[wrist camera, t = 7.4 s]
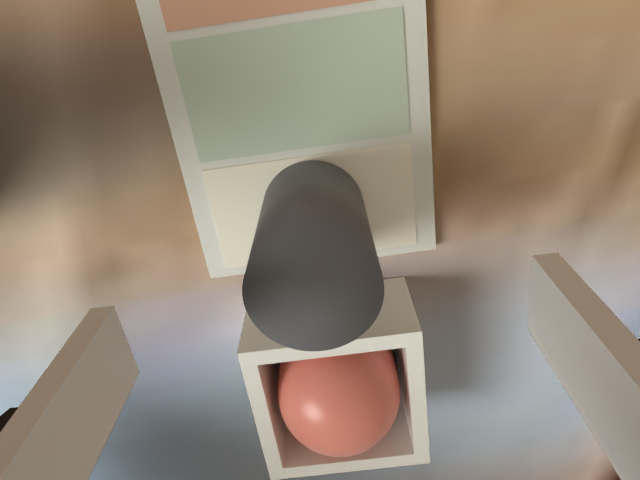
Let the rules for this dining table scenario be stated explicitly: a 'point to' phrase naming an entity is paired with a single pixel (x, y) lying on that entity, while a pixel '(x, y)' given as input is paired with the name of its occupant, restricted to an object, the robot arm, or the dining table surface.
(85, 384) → the robot arm
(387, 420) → the salmon pink ball
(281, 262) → the grey capsule
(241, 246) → the game board
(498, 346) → the dining table surface
